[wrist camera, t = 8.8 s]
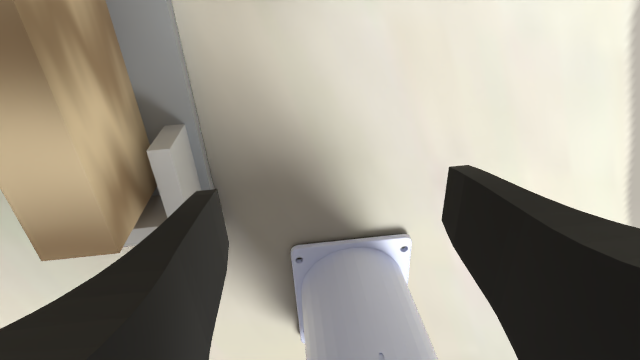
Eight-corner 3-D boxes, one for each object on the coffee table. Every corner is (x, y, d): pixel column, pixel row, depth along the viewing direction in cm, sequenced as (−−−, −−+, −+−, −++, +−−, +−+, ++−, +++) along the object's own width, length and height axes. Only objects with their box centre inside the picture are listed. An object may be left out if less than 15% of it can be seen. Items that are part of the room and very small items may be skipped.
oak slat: (160, 179, 20) (119, 252, 15) (103, 184, 20) (41, 260, 15) (29, -248, 12) (-163, -417, 7) (-69, -246, 12) (-343, -418, 7)
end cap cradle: (222, 225, 23) (213, 267, 19) (88, 238, 22) (56, 285, 19) (72, -434, 11) (-18, -611, 7) (-225, -436, 10) (-461, -629, 7)
